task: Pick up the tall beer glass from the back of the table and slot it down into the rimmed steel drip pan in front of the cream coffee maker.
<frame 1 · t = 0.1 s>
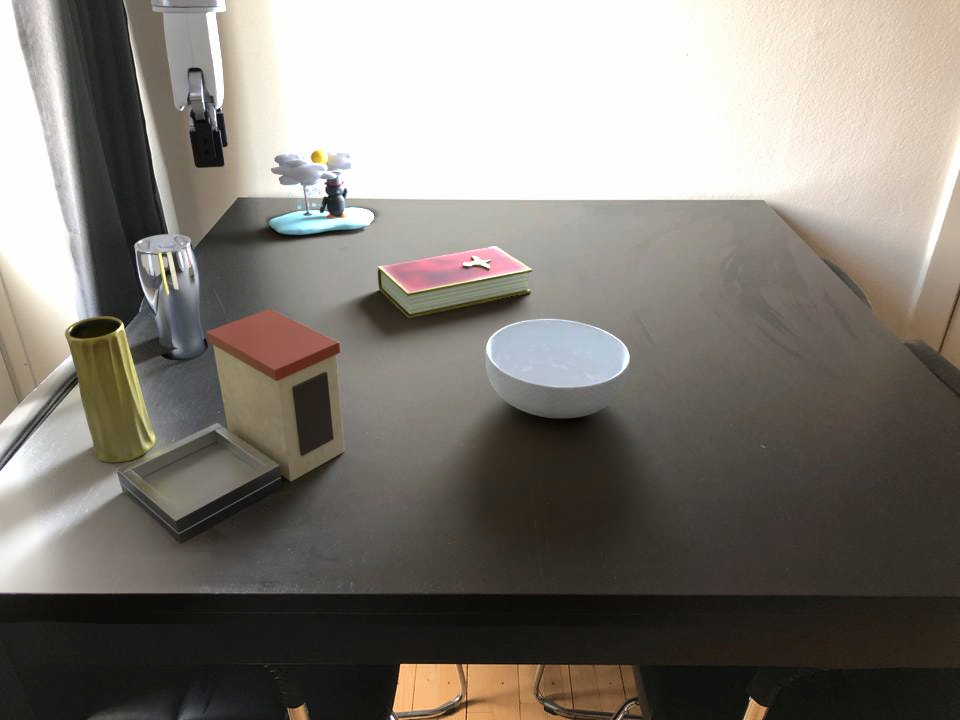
hand: (212, 156, 88), 25 cm above the table, tool pointing down, fingers open, 9 cm apart
penguin figurine: (323, 228, 143), on the table
vase: (125, 448, 79), on the table
cereal bowl: (553, 402, 89), on the table
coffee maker: (203, 489, 73), on the table
hardcover book: (454, 292, 117), on the table
beer glass: (184, 351, 99), on the table
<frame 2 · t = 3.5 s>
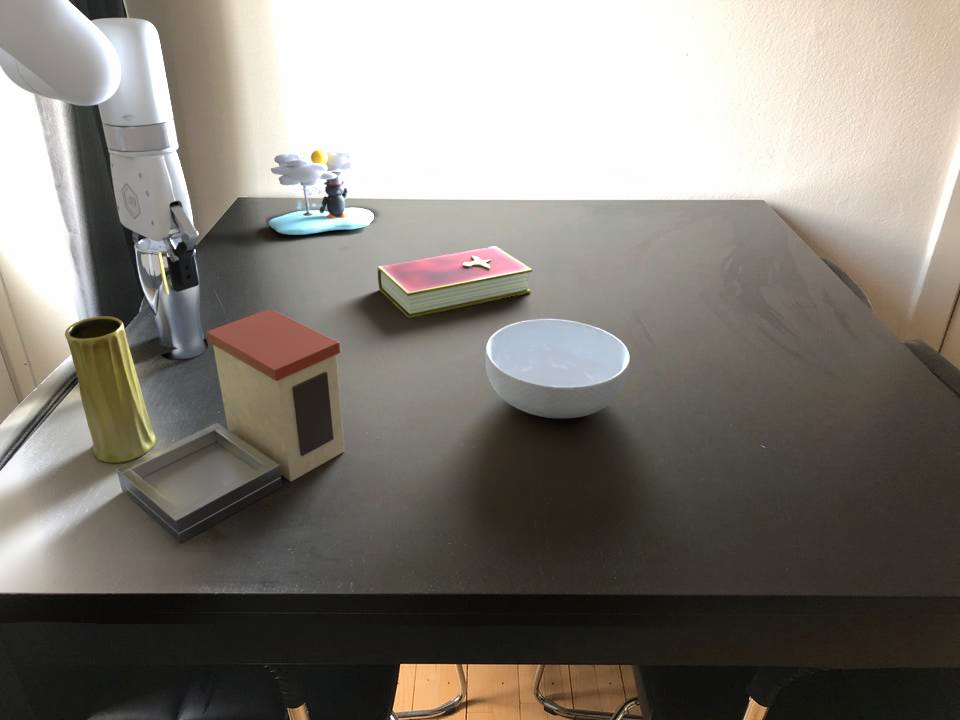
hand: (170, 278, 94), 10 cm above the table, tool pointing down, fingers closed on beer glass, 7 cm apart
beer glass: (184, 351, 99), on the table, touching gripper
everything else where it was.
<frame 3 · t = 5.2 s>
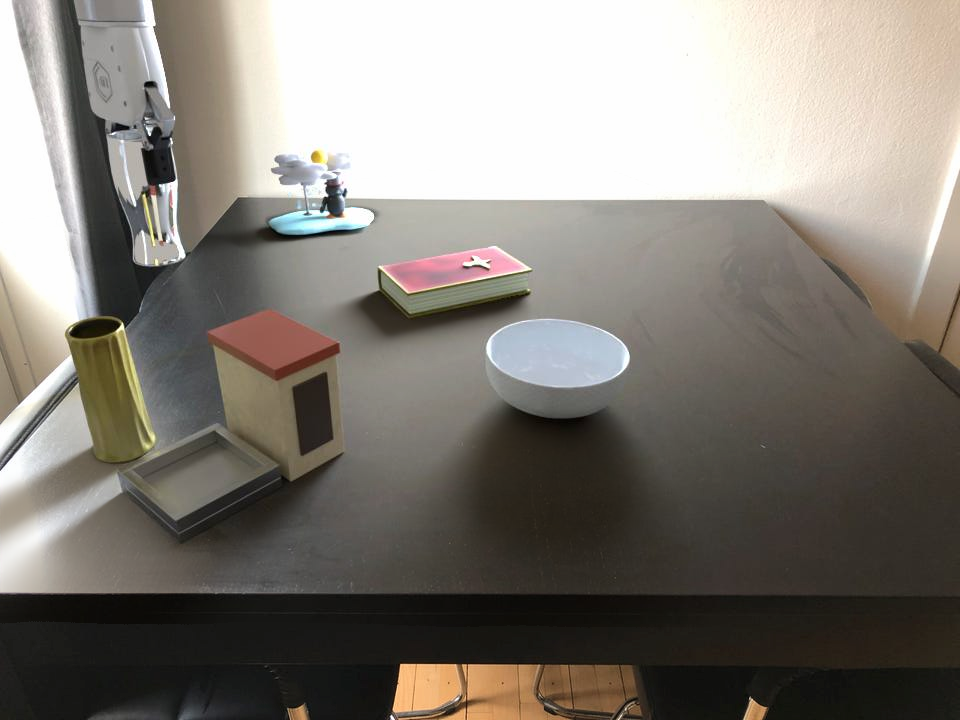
hand: (145, 176, 87), 23 cm above the table, tool pointing down, fingers closed on beer glass, 7 cm apart
beer glass: (160, 259, 92), point 13 cm above the table, touching gripper
everything else where it was.
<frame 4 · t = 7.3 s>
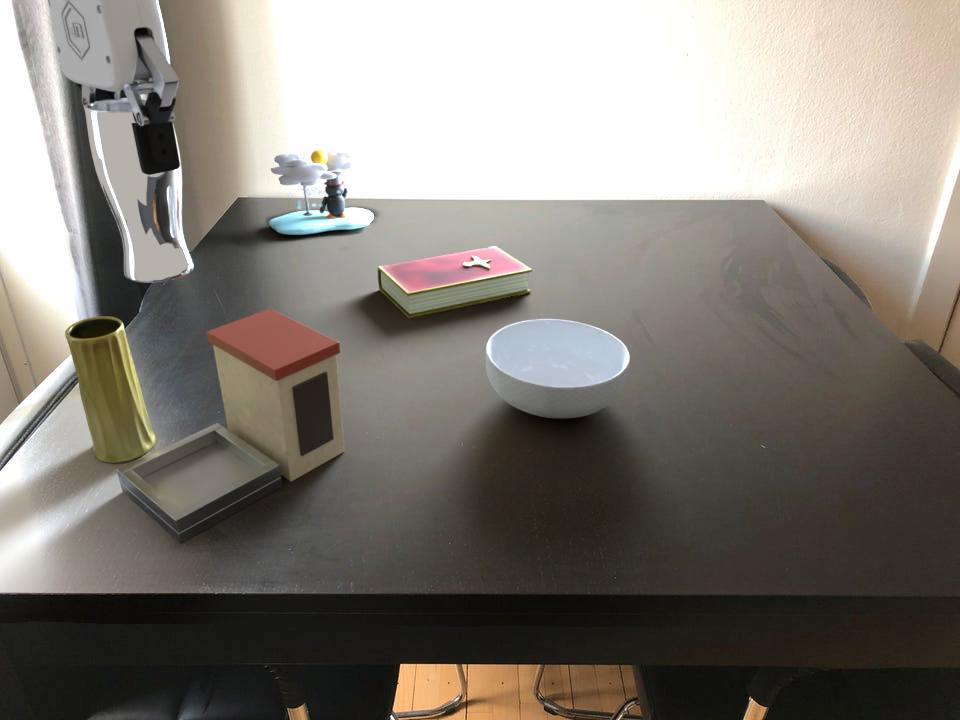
hand: (137, 161, 64), 31 cm above the table, tool pointing down, fingers closed on beer glass, 7 cm apart
beer glass: (160, 272, 70), point 20 cm above the table, touching gripper
everything else where it was.
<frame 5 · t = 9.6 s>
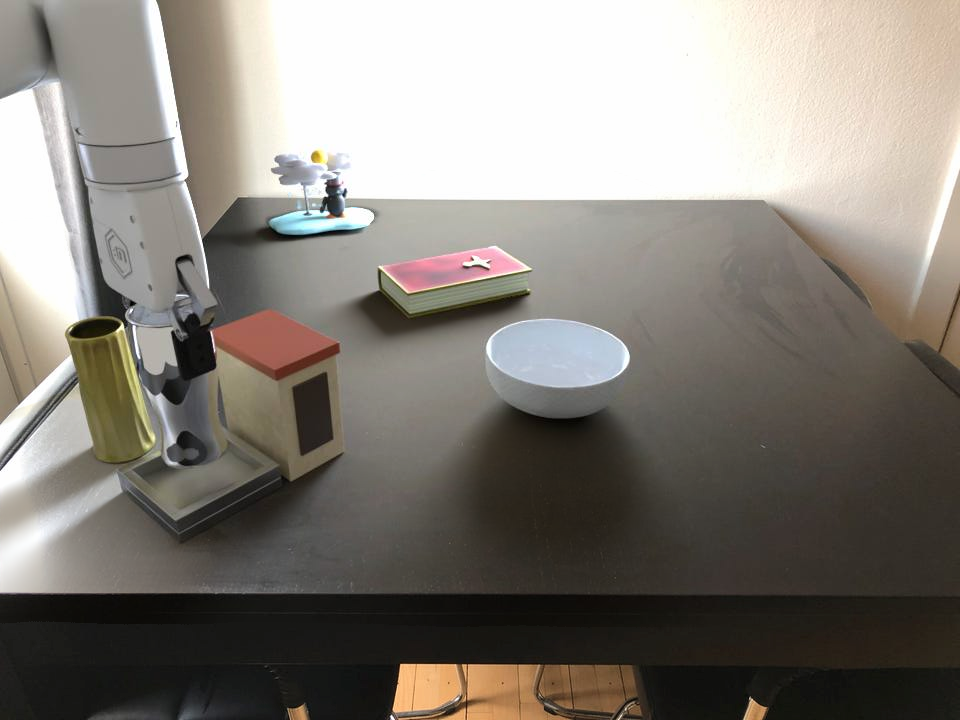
hand: (175, 358, 66), 15 cm above the table, tool pointing down, fingers closed on beer glass, 7 cm apart
beer glass: (195, 452, 71), point 4 cm above the table, touching gripper
everything else where it was.
when the fingers open (11 cm above the table, at t = 11.2 s): beer glass stays where it is, resting on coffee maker.
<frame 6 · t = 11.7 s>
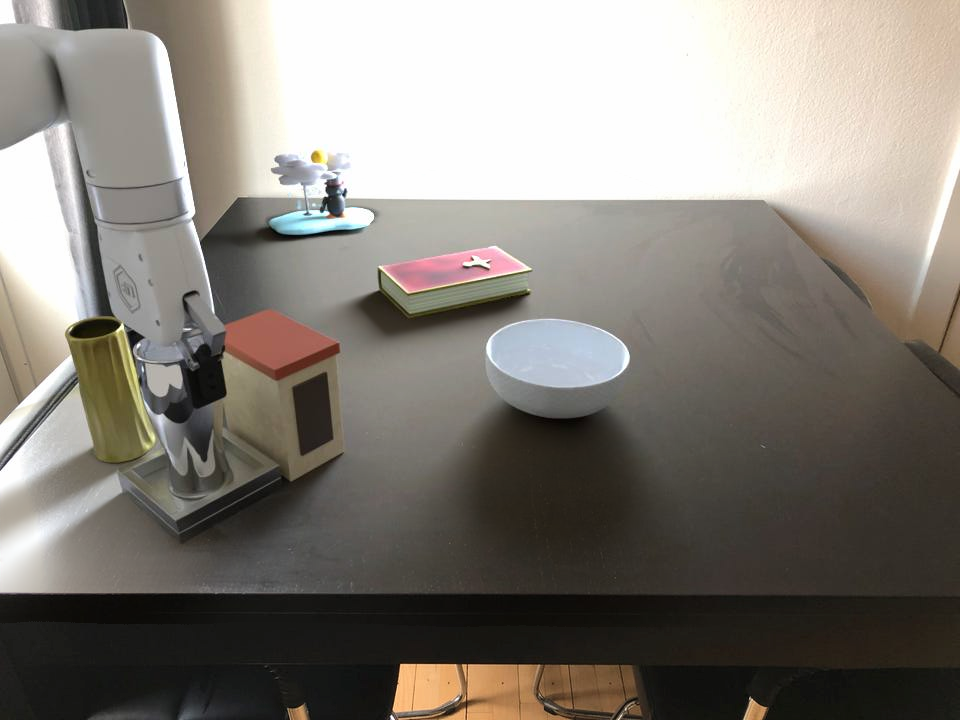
hand: (180, 382, 67), 12 cm above the table, tool pointing down, fingers open, 9 cm apart
beer glass: (201, 480, 73), point 1 cm above the table, touching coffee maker
everything else where it was.
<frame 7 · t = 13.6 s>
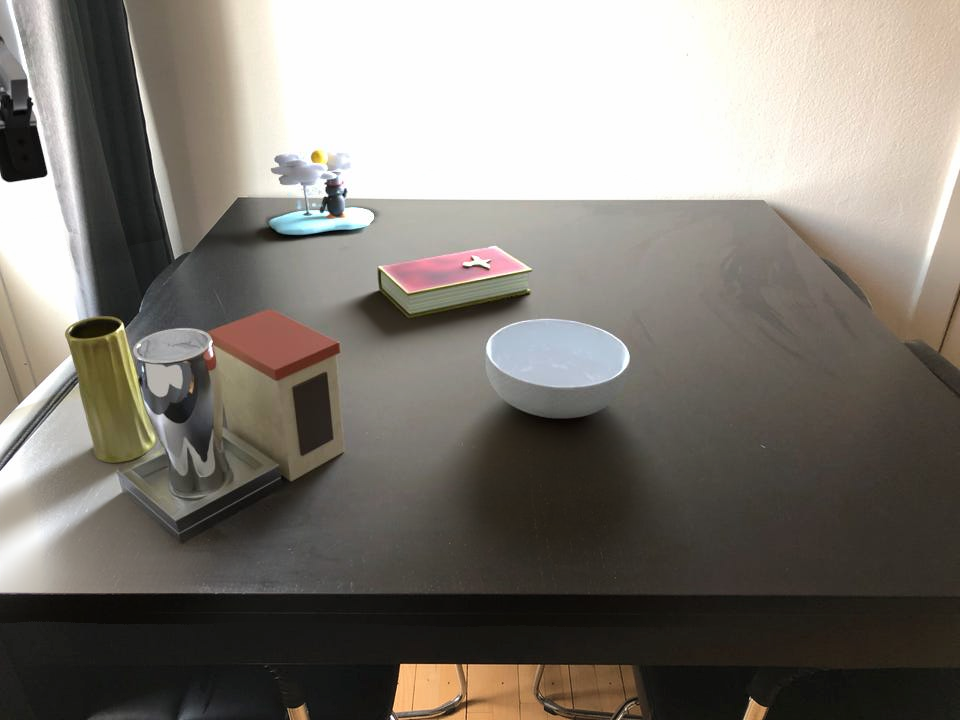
hand: (2, 166, 61), 31 cm above the table, tool pointing down, fingers open, 9 cm apart
nothing on the table moved.
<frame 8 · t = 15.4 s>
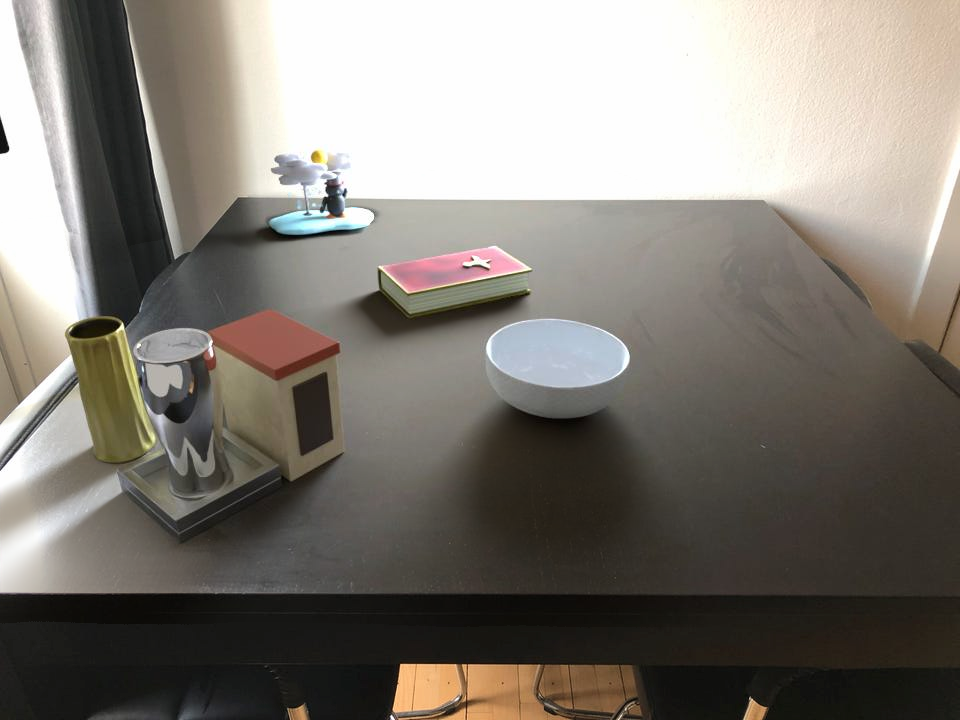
nothing on the table moved.
at the end: beer glass 0.0 cm off-centre on the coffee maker, point 1.0 cm above the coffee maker's base; beer glass tilted 0° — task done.
